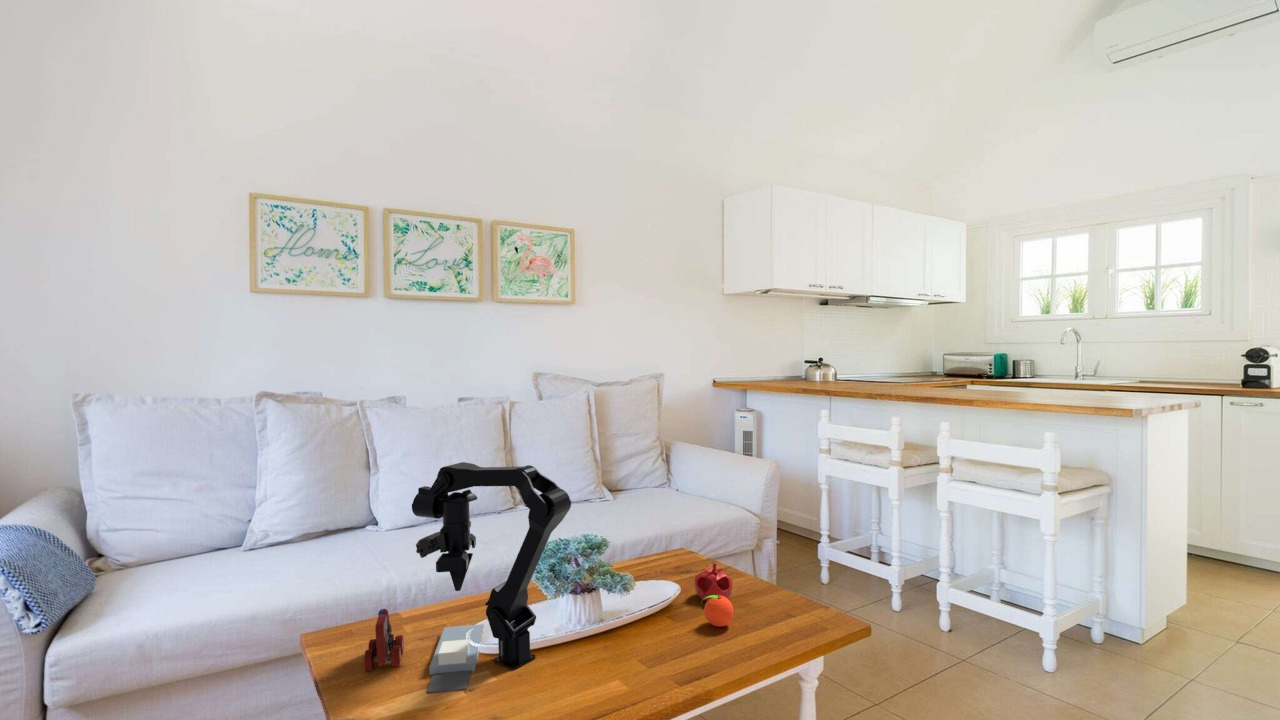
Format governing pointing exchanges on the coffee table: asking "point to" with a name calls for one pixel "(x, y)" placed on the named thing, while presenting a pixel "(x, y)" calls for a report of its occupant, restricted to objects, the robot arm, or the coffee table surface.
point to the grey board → (453, 635)
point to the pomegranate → (713, 583)
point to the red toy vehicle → (383, 644)
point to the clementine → (718, 610)
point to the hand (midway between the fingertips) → (458, 590)
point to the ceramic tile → (453, 652)
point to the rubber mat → (449, 681)
